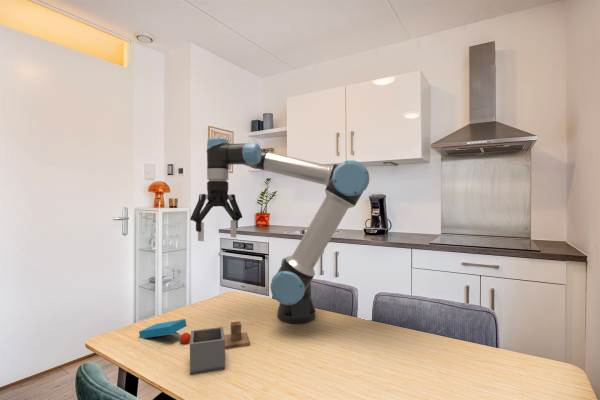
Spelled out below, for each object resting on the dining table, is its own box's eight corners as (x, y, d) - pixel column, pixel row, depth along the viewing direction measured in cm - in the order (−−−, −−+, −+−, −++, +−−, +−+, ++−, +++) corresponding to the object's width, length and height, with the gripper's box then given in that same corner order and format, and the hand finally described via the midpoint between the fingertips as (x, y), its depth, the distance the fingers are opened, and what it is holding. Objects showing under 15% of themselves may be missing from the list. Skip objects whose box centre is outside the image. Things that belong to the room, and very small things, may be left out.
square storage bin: (222, 353, 93) (222, 326, 93) (224, 369, 84) (224, 339, 84) (191, 358, 90) (191, 330, 90) (189, 374, 81) (189, 344, 81)
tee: (246, 335, 105) (246, 317, 105) (250, 345, 97) (250, 326, 97) (222, 338, 103) (222, 320, 103) (224, 349, 95) (224, 329, 95)
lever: (142, 352, 103) (182, 347, 96) (138, 331, 104) (177, 325, 97) (159, 343, 109) (198, 338, 102) (155, 323, 110) (193, 317, 103)
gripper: (239, 182, 125) (239, 235, 125) (180, 179, 106) (180, 241, 106) (251, 181, 119) (251, 236, 119) (190, 178, 101) (191, 243, 101)
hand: (217, 239), depth 113 cm, fingers open, 13 cm apart
